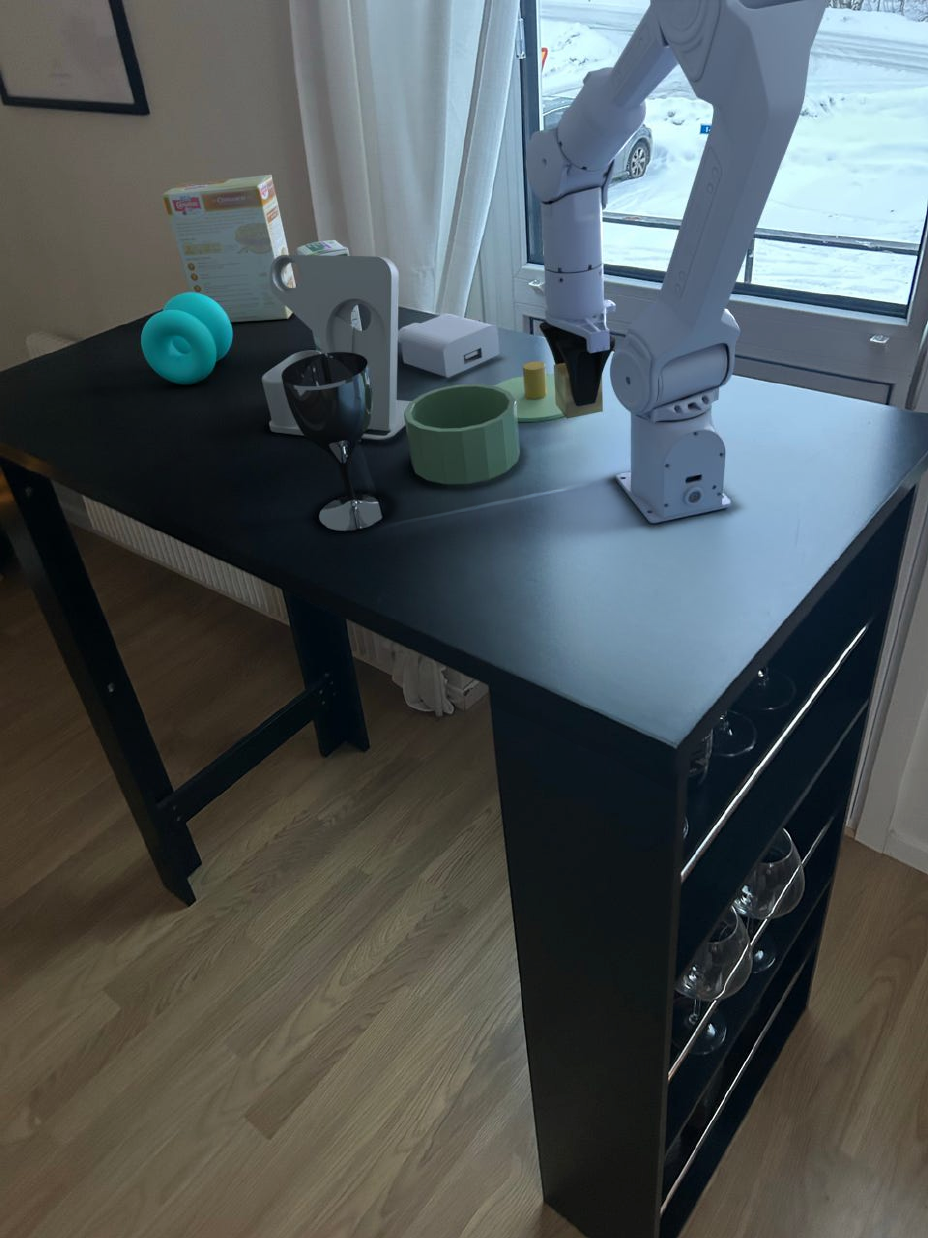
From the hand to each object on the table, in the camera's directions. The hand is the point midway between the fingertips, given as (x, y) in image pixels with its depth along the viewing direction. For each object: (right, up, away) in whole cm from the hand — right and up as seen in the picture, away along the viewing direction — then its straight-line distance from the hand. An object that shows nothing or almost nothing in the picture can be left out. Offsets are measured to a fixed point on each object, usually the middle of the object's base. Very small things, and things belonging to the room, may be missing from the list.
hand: (578, 395), depth 98 cm
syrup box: (-29, +13, +31) cm, 44 cm away
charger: (-16, +11, +26) cm, 32 cm away
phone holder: (-26, 0, +13) cm, 29 cm away
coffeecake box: (-46, +25, +49) cm, 72 cm away
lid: (-4, +2, +10) cm, 11 cm away
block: (0, -1, +1) cm, 1 cm away
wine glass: (-23, -13, -5) cm, 27 cm away
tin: (-12, -7, +1) cm, 14 cm away
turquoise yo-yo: (-49, +10, +31) cm, 59 cm away
